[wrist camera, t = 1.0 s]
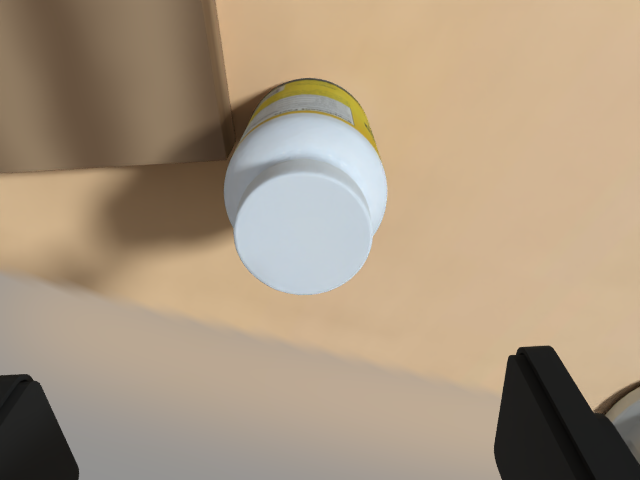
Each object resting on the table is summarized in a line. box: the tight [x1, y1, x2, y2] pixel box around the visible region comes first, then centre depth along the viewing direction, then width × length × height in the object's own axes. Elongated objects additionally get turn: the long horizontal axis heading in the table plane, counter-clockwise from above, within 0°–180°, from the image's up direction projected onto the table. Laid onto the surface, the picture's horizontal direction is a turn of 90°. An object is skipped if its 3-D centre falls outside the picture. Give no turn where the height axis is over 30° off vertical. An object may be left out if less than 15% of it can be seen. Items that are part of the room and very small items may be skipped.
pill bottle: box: [224, 78, 387, 295], centre depth 22 cm, size 6×6×12 cm
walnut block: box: [0, 0, 236, 173], centre depth 23 cm, size 12×12×3 cm
